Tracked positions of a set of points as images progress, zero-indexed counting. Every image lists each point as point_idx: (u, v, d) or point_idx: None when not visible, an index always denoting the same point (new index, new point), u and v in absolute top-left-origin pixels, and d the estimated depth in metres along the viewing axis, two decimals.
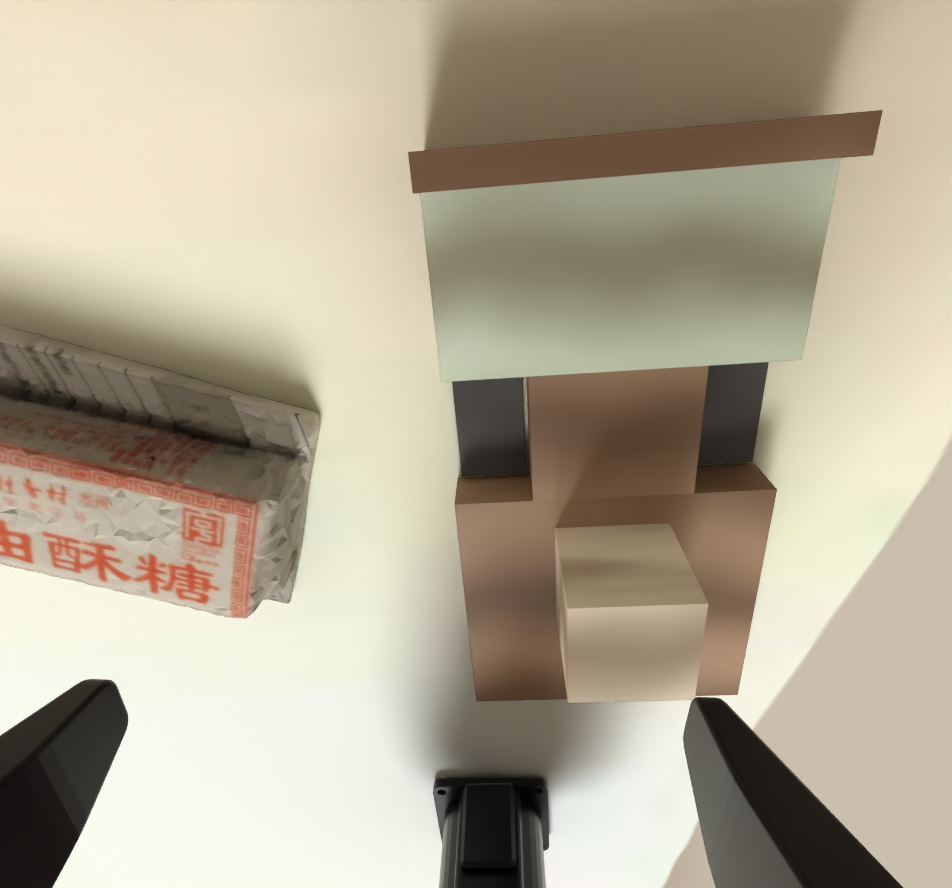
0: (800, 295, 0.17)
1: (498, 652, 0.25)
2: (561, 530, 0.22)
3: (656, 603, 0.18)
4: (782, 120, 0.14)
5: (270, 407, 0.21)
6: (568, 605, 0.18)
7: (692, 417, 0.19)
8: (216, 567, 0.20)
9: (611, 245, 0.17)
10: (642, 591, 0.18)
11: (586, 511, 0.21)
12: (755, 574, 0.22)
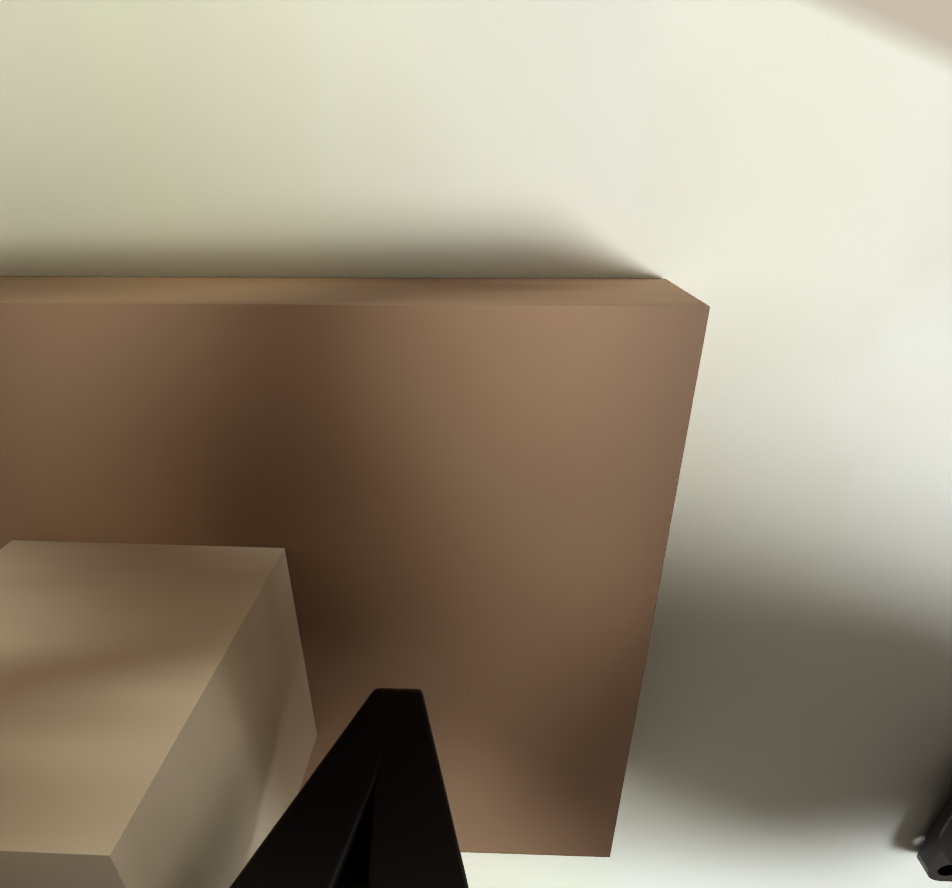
0: None
1: (467, 819, 0.12)
2: None
3: None
4: None
5: None
6: None
7: None
8: None
9: None
10: None
11: None
12: (162, 318, 0.07)
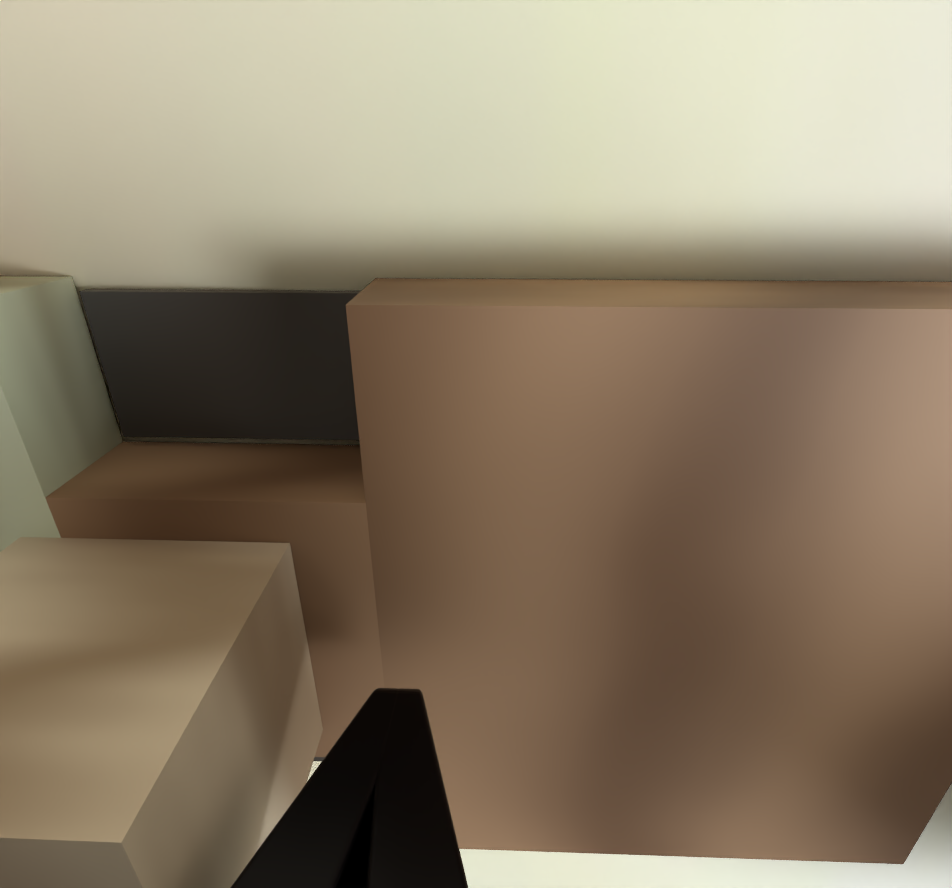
0: None
1: (770, 826, 0.12)
2: None
3: None
4: None
5: None
6: None
7: (168, 520, 0.09)
8: None
9: None
10: None
11: None
12: (655, 322, 0.07)
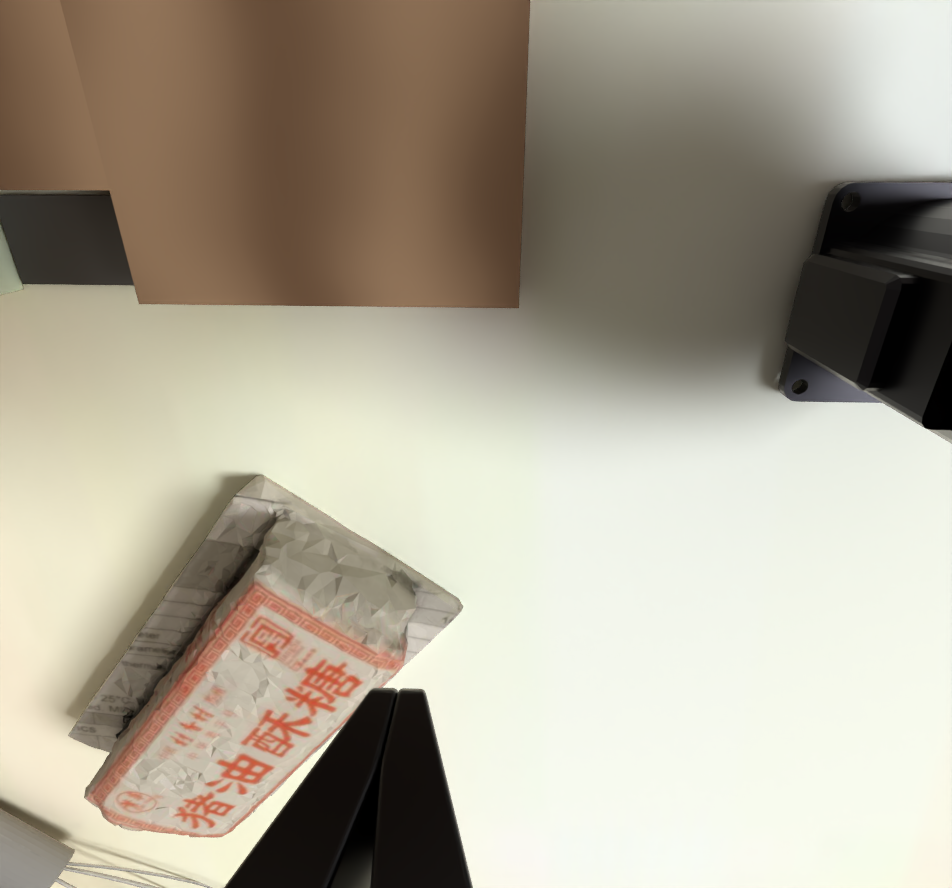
0: None
1: (407, 262, 0.15)
2: None
3: None
4: None
5: (224, 511, 0.21)
6: None
7: None
8: (316, 652, 0.19)
9: None
10: None
11: (109, 102, 0.14)
12: None
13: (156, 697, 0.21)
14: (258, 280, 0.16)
